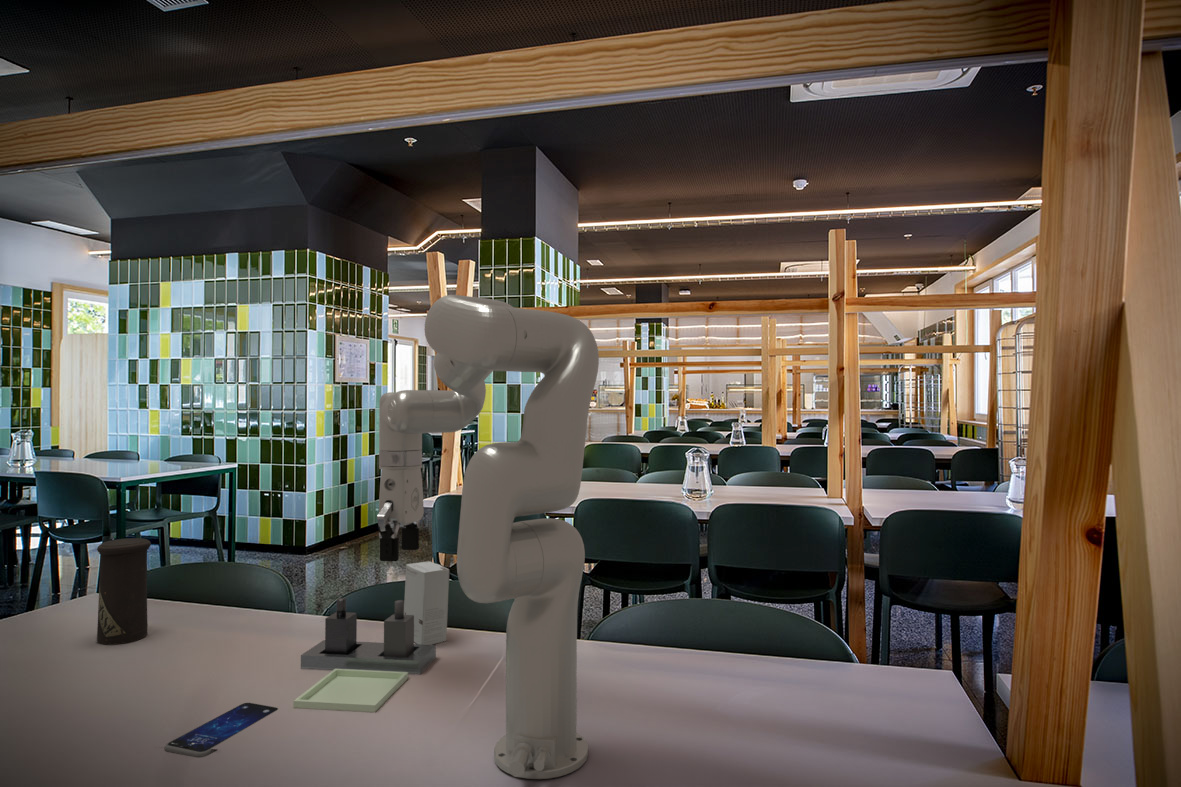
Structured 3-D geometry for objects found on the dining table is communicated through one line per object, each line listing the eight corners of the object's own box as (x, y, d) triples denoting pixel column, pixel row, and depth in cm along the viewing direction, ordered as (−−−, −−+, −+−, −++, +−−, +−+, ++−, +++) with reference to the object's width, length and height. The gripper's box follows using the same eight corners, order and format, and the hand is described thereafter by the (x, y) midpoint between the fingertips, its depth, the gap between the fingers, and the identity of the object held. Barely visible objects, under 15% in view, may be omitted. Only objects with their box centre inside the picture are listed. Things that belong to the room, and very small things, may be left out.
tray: (375, 715, 104) (375, 705, 104) (293, 710, 106) (293, 700, 106) (408, 681, 117) (408, 672, 117) (334, 677, 119) (335, 668, 119)
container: (101, 634, 141) (102, 537, 141) (152, 629, 145) (153, 533, 145) (90, 648, 133) (92, 544, 134) (145, 641, 137) (147, 541, 137)
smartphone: (283, 707, 106) (203, 754, 92) (283, 714, 106) (202, 761, 92) (245, 700, 108) (160, 745, 94) (245, 707, 108) (160, 752, 94)
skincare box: (402, 637, 140) (402, 564, 140) (428, 631, 144) (429, 559, 144) (422, 648, 134) (423, 571, 134) (449, 641, 138) (450, 566, 138)
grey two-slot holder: (420, 677, 119) (420, 608, 119) (300, 671, 122) (301, 604, 122) (435, 660, 127) (436, 596, 127) (323, 655, 130) (323, 592, 130)
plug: (405, 667, 121) (405, 604, 122) (383, 666, 122) (384, 604, 122) (413, 659, 125) (414, 598, 126) (392, 658, 126) (393, 597, 126)
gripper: (402, 464, 116) (401, 566, 115) (436, 457, 133) (436, 546, 132) (359, 463, 116) (358, 565, 116) (399, 456, 134) (399, 545, 133)
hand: (400, 554), depth 124 cm, fingers open, 9 cm apart
